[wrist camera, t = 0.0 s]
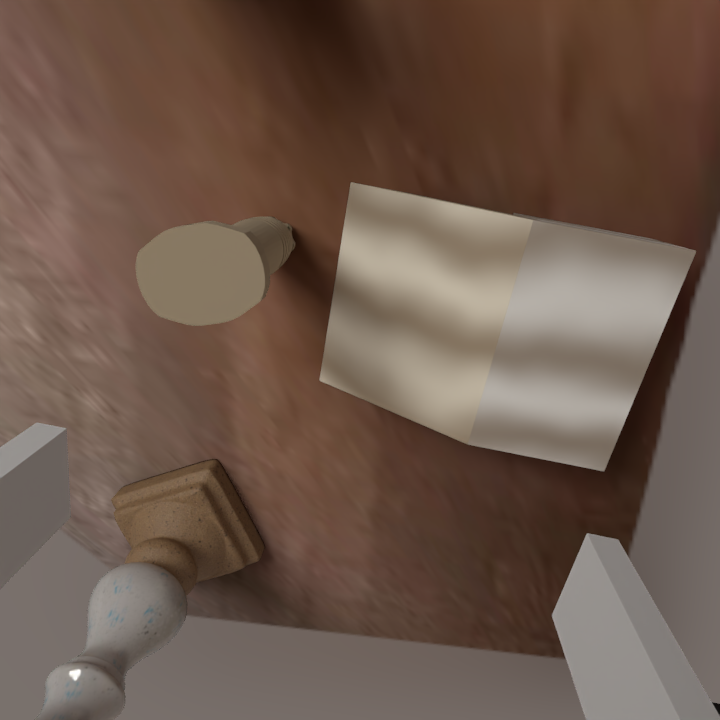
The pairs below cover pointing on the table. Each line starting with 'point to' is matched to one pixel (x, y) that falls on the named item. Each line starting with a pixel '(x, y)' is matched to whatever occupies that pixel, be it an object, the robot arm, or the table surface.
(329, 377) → the ramp bench
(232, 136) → the table surface
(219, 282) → the handle
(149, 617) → the candle holder
